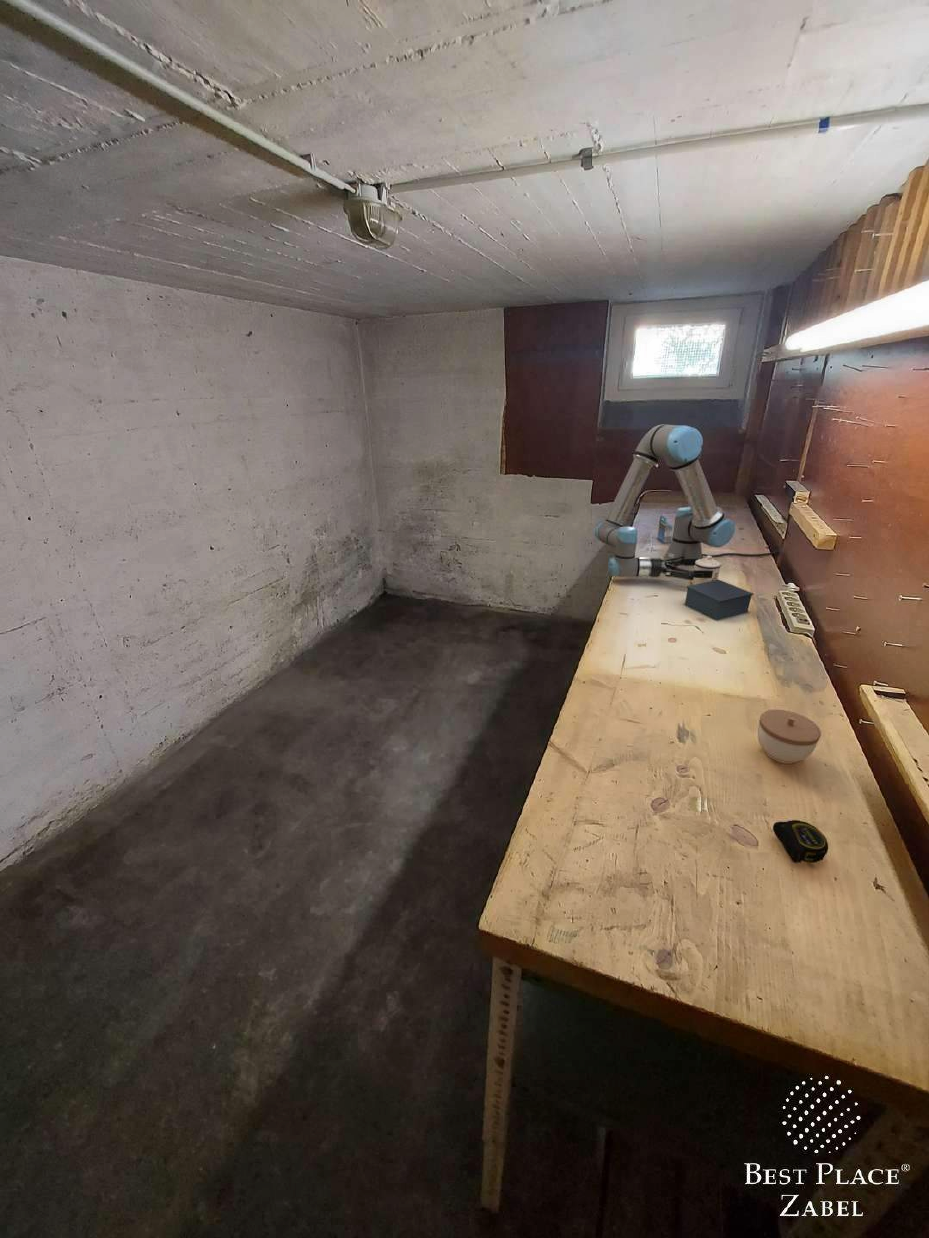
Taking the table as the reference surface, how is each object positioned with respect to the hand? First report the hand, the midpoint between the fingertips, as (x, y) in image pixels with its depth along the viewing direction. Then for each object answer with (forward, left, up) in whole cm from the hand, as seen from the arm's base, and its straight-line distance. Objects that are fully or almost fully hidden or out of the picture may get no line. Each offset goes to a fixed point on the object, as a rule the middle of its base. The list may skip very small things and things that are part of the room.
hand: (707, 568), depth 186 cm
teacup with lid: (0, 0, -7) cm, 7 cm away
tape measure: (+78, +98, -7) cm, 125 cm away
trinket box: (+59, +80, -7) cm, 100 cm away
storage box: (+14, +19, -6) cm, 24 cm away
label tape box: (-26, -52, -7) cm, 59 cm away
